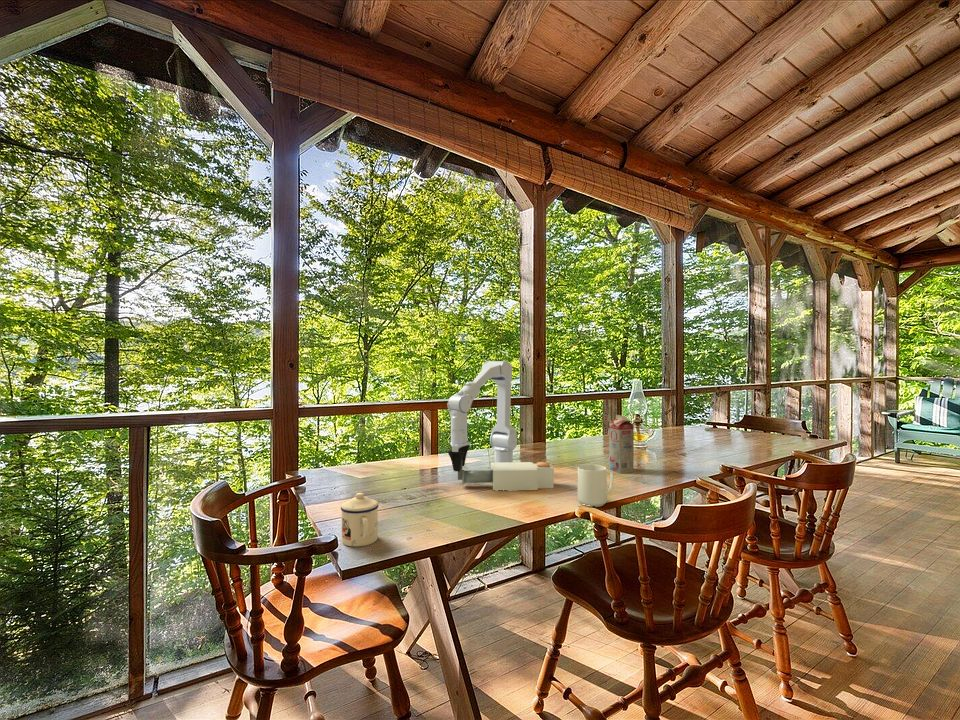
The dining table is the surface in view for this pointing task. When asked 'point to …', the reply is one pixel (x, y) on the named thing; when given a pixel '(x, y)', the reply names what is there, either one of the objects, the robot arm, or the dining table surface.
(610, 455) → the juice carton
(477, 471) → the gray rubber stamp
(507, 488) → the button housing
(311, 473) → the dining table surface
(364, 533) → the teacup with lid
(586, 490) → the mug
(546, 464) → the plunger button
